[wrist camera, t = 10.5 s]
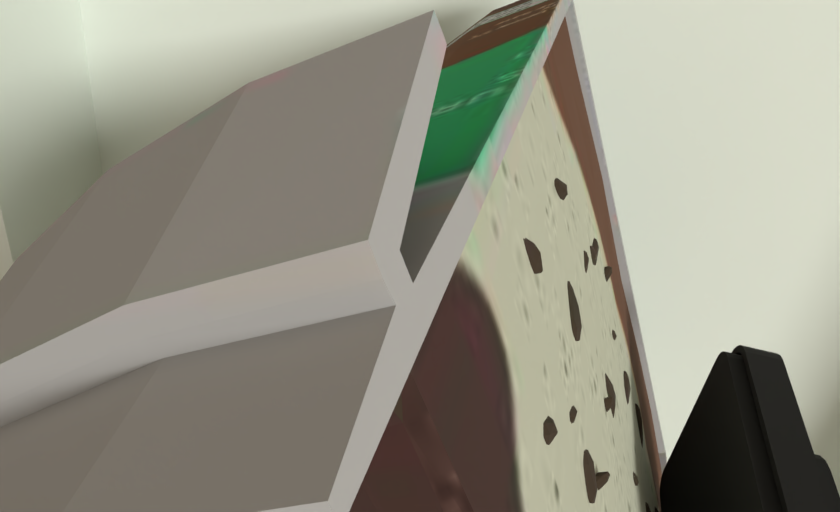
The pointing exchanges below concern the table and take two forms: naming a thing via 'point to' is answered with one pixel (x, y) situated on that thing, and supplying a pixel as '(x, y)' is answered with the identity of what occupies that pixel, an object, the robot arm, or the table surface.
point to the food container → (344, 298)
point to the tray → (619, 126)
